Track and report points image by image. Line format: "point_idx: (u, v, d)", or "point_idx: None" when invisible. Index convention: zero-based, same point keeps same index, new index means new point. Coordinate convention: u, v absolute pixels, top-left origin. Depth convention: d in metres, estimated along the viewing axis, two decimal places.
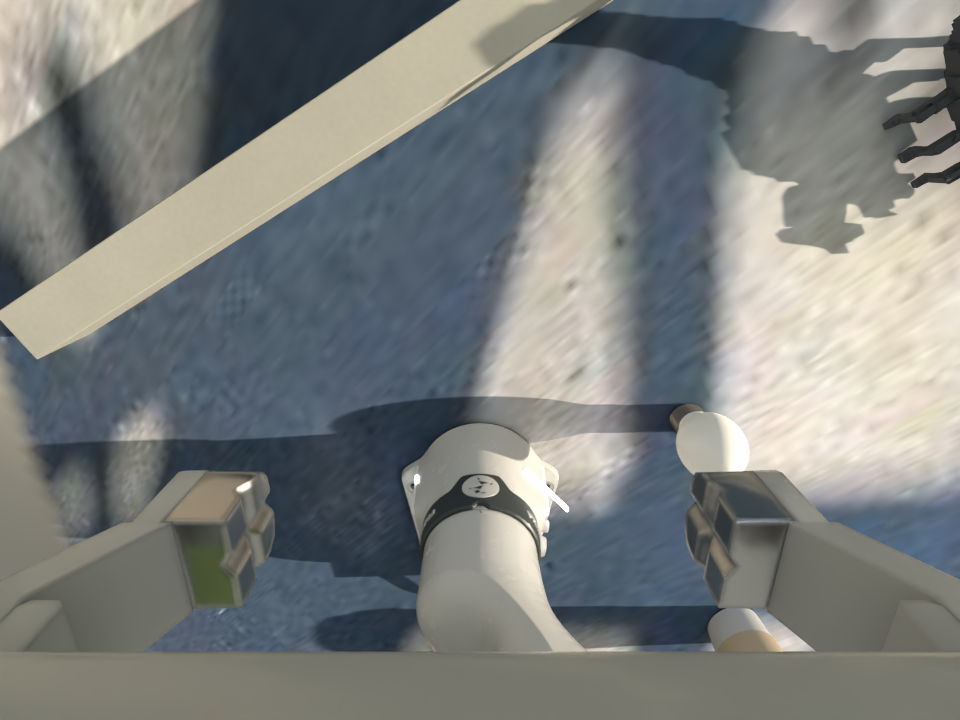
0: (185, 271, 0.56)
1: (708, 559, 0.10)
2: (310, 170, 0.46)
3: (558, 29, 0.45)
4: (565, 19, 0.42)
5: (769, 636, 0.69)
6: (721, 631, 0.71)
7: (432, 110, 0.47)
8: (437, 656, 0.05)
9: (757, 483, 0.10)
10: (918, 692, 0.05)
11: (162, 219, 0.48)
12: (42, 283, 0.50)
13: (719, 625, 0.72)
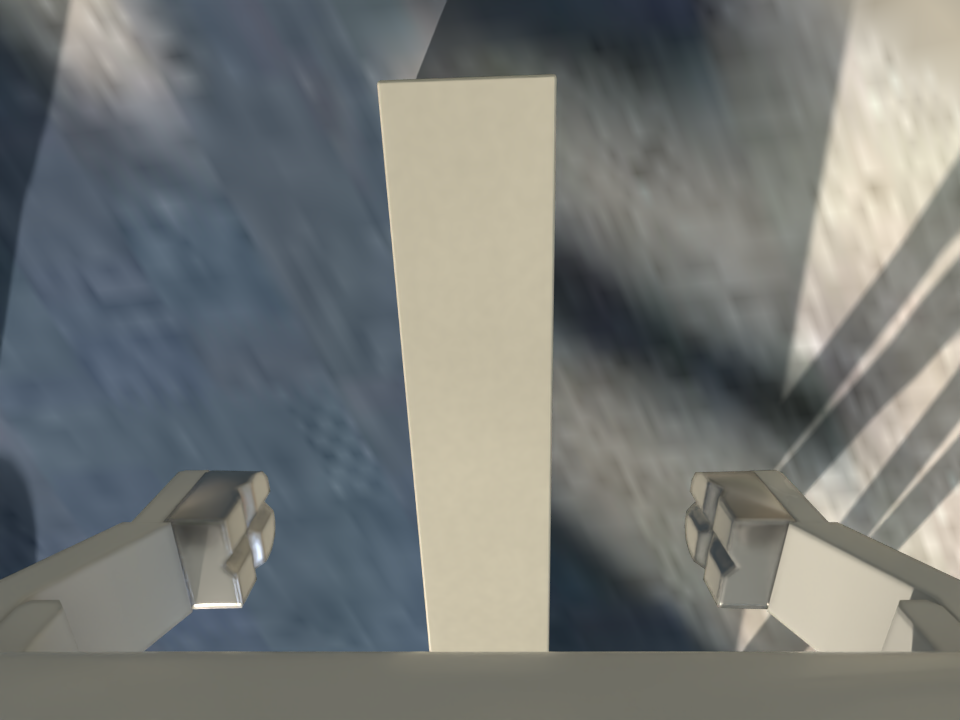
0: None
1: (708, 559, 0.10)
2: None
3: None
4: None
5: None
6: None
7: None
8: (437, 656, 0.05)
9: (757, 483, 0.10)
10: (917, 693, 0.05)
11: (520, 596, 0.23)
12: (550, 279, 0.18)
13: None
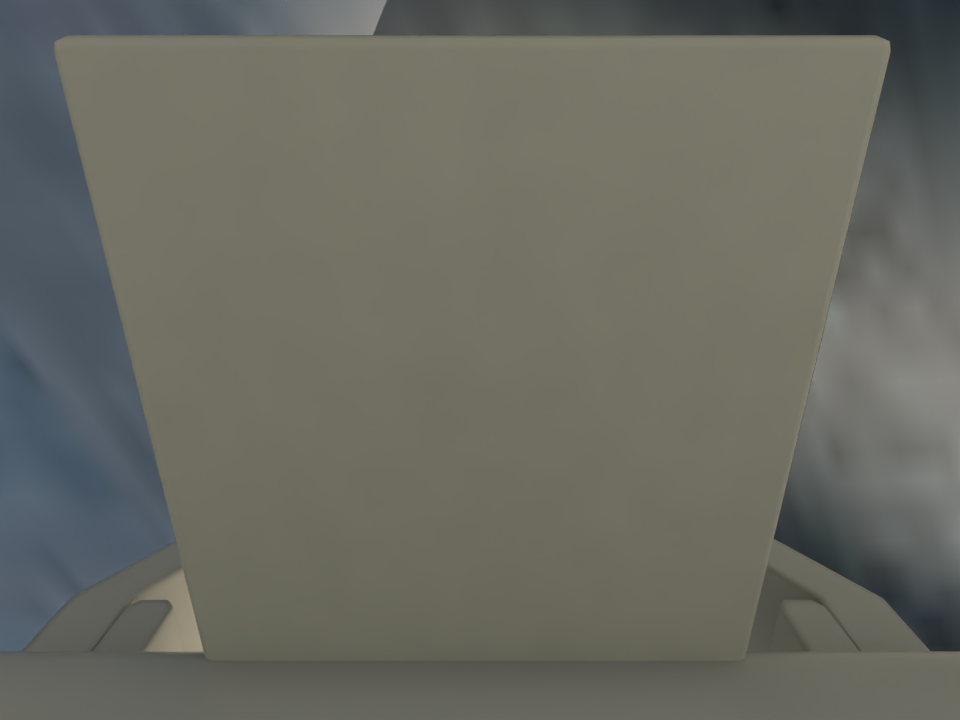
0: None
1: None
2: None
3: None
4: None
5: None
6: None
7: None
8: None
9: None
10: (918, 692, 0.05)
11: None
12: None
13: None
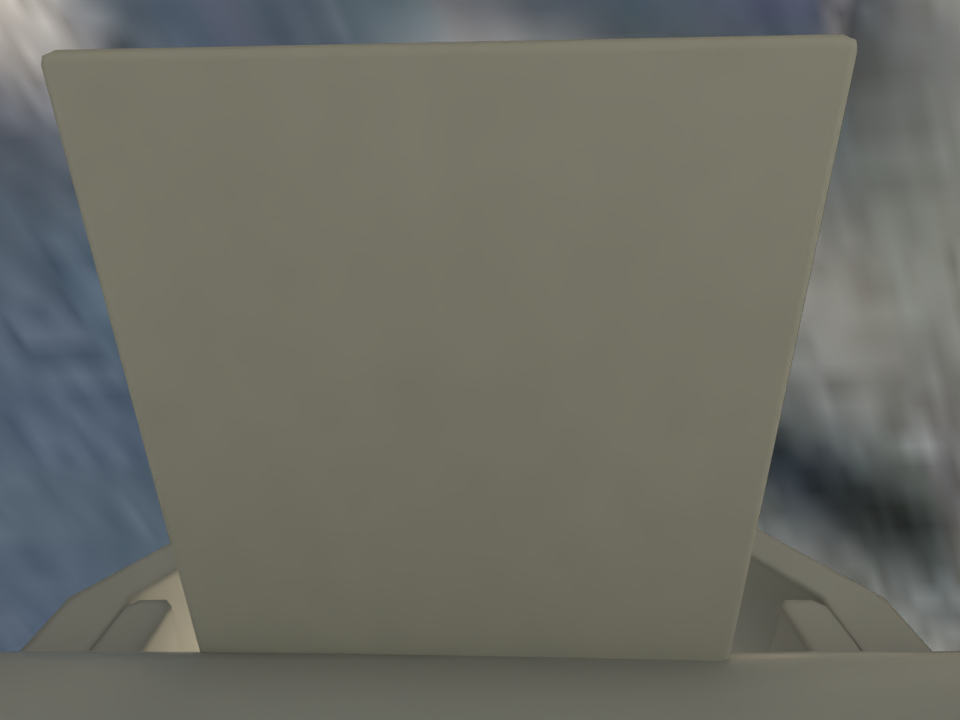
0: None
1: None
2: None
3: None
4: None
5: None
6: None
7: None
8: (437, 656, 0.05)
9: None
10: (917, 692, 0.05)
11: None
12: None
13: None
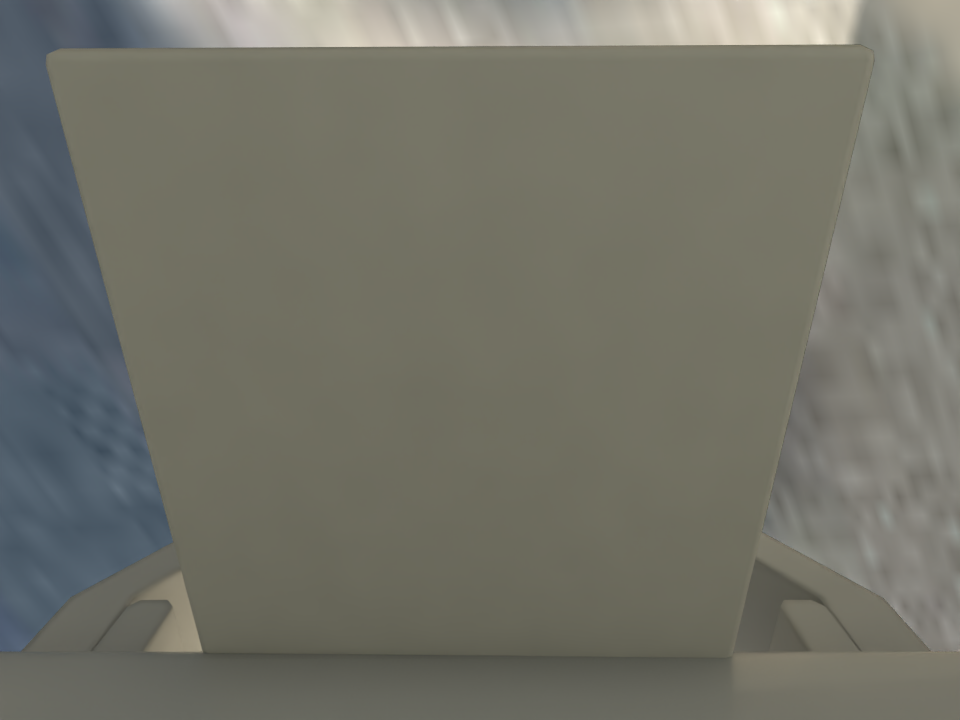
0: None
1: None
2: None
3: None
4: None
5: None
6: None
7: None
8: (437, 656, 0.05)
9: None
10: (918, 692, 0.05)
11: None
12: None
13: None
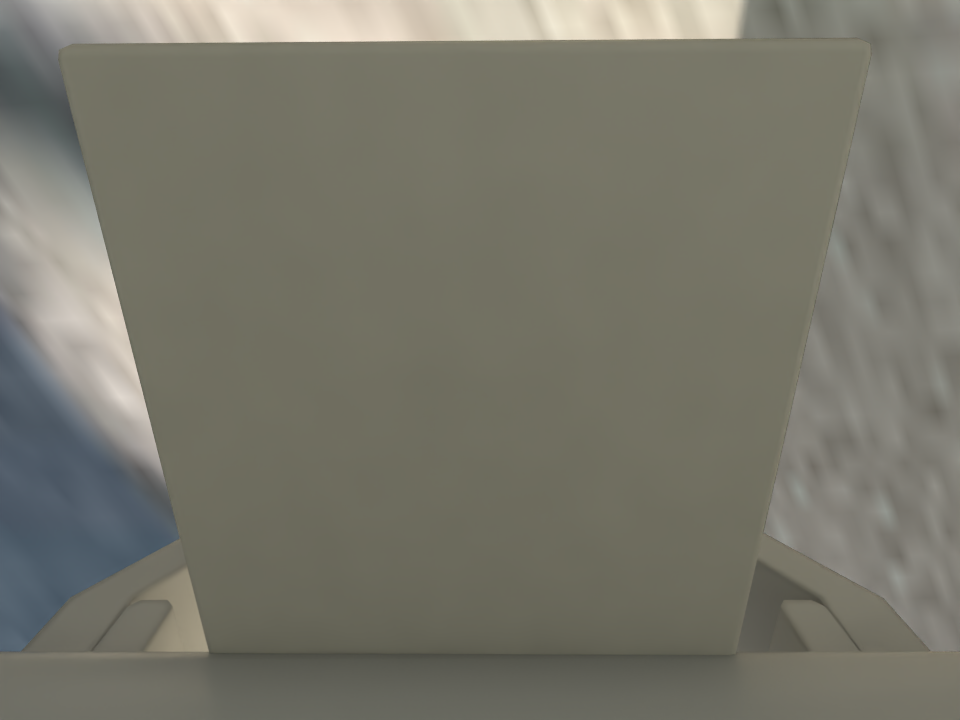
0: None
1: None
2: None
3: None
4: None
5: None
6: None
7: None
8: (437, 656, 0.05)
9: None
10: (916, 691, 0.05)
11: None
12: None
13: None
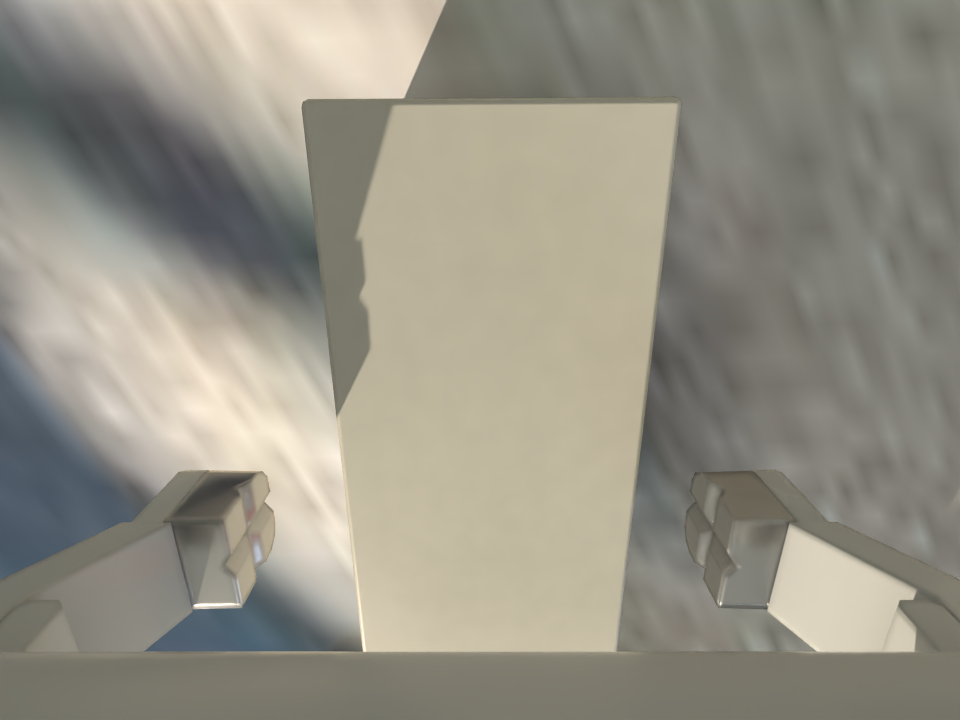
0: None
1: (708, 559, 0.10)
2: None
3: None
4: None
5: None
6: None
7: None
8: (437, 656, 0.05)
9: (757, 483, 0.10)
10: (917, 692, 0.05)
11: None
12: (630, 478, 0.10)
13: None
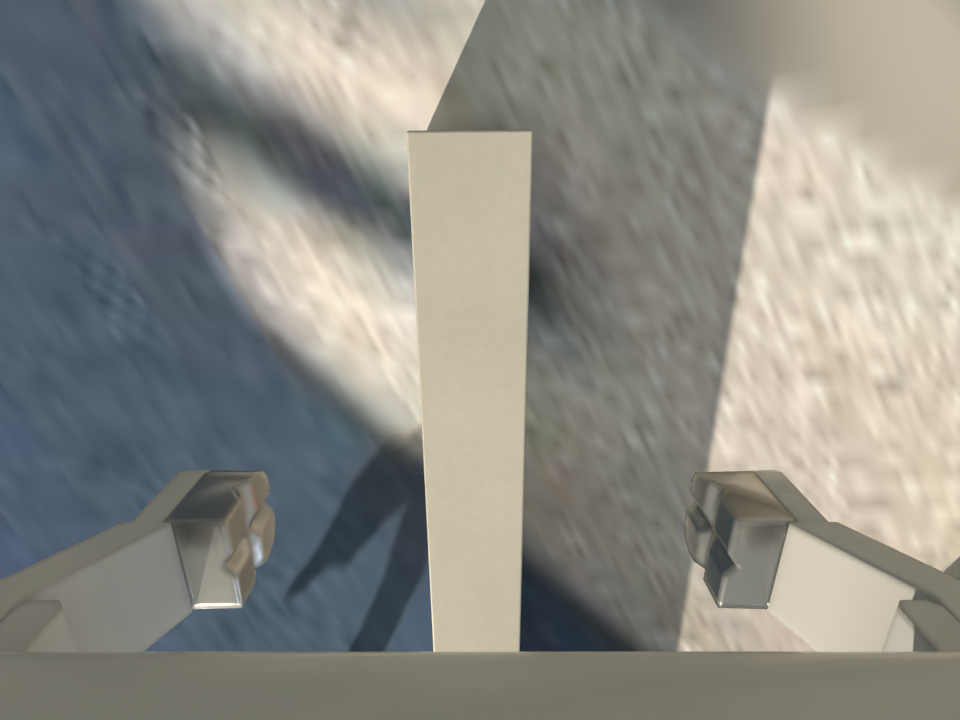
0: None
1: (708, 559, 0.10)
2: None
3: None
4: None
5: None
6: None
7: None
8: (437, 656, 0.05)
9: (757, 483, 0.10)
10: (918, 693, 0.05)
11: (500, 518, 0.30)
12: (526, 274, 0.25)
13: None
